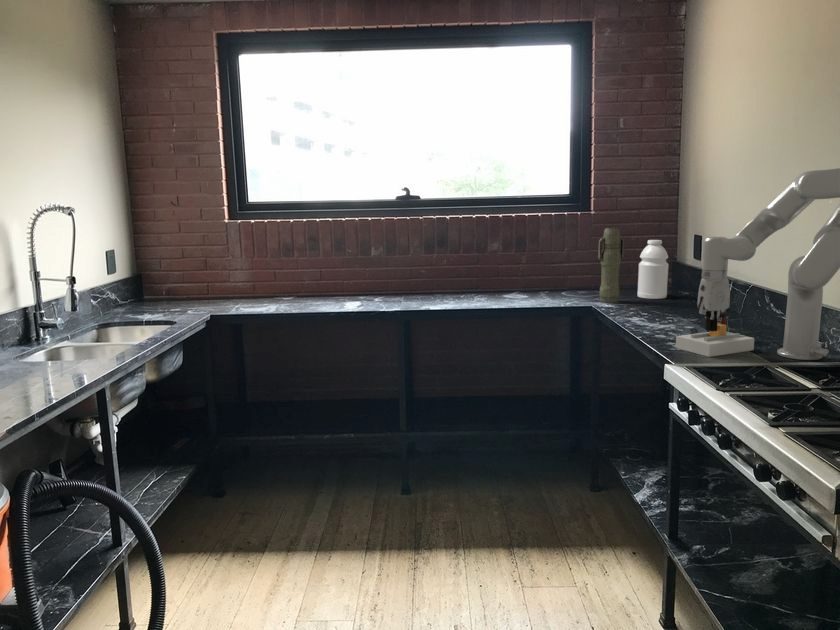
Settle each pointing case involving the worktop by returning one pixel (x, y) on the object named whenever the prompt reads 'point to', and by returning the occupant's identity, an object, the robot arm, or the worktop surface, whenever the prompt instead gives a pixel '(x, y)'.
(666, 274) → the bottle
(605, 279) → the thermos
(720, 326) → the block
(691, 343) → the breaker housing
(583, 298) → the worktop surface
